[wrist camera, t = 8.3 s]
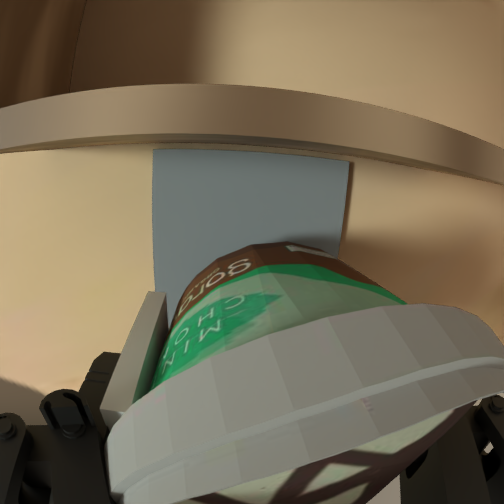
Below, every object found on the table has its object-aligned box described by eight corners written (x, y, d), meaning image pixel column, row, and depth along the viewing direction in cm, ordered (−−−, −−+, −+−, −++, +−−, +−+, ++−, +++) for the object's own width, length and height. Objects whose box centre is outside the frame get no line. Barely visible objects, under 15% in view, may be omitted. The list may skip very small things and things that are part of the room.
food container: (246, 146, 11) (399, 150, 2) (360, 233, 13) (542, 373, 4) (109, 364, 14) (57, 540, 4) (210, 411, 15) (221, 577, 6)
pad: (167, 390, 17) (166, 394, 17) (155, 149, 13) (153, 149, 13) (308, 389, 18) (309, 393, 18) (346, 161, 14) (349, 161, 14)
